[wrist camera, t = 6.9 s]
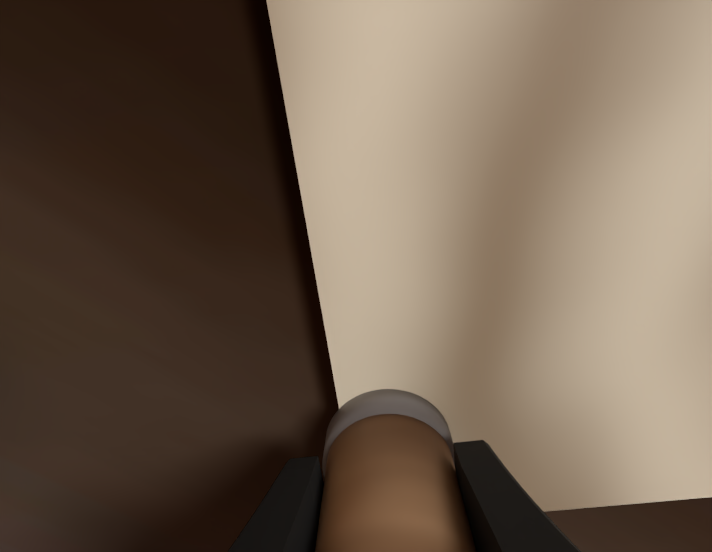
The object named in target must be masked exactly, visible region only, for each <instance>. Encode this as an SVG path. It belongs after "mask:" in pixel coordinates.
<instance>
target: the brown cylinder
mask: <svg viewBox="0 0 712 552" xmlns="http://www.w3.org/2000/svg"><path fill="white" fill-rule="evenodd" d="M322 470H323V476H324V486H323V494H322V502H321V509H320V517H319V524H318V532H317V540H316V547H315V552H476V548H475V544H474V540H473V536H472V532H471V528H470V524H469V521H468V517H467V514H466V510H465V506H464V502H463V499H462V495H461V491H460V487H459V483H458V479H457V475H456V471H455V460H454V449H453V441H452V437H451V433H450V430H449V427H448V424H447V422H446V420H445V418H444V416H443V415H442V414H441V412H440V411H439V410H438V409H437V408H436V407H435V406H434V405H433V404H432V403H430V402H429V401H428V400H426V399H424V398H422V397H421V396H419V395H416V394H414V393H411V392H407V391H403V390H397V389H380V390H374V391H369V392H366V393H363V394H360V395H358V396H356V397H354V398H352V399H351V400H349V401H348V402H346V403H345V404H344V405H343V406H341V408H340V409H339V410H338V411H337V412H336V413H335V415H334V416H333V417H332V419H331V421H330V423H329V426H328V429H327V433H326V439H325V446H324V453H323V460H322Z"/></svg>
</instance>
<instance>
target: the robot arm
mask: <svg viewBox="0 0 712 552" xmlns="http://www.w3.org/2000/svg"><path fill="white" fill-rule="evenodd" d="M453 449H454V460H455V471H456V475H457V479H458V483H459V487H460V491H461V495H462V499H463V502H464V506H465V510H466V514H467V517H468V521H469V524H470V528H471V532H472V536H473V540H474V544H475V548H476V552H581V551H580V550H579V549H578V548H577V547H576V546H575V545H574V544H573V543H572V542H571V541H570V540H569V539H568V538H567V537H566V536H565V534H564V533H563V532H562V531H561V530H560V529H559V528H558V527H557V526H556V525H555V524H554V523H553V522H552V520H551V519H550V518H549V517H548V516H547V515H546V514H545V513H544V512H543V511H542V509H541V508H540V507H539V506H538V505H537V504H536V503H535V502H534V501H533V499H532V498H531V497H530V496H529V495H528V494H527V492H526V491H525V490H524V489H523V488H522V487H521V485H520V484H519V483H518V482H517V481H516V479H515V478H514V477H513V476H512V474H511V473H510V472H509V471H508V469H507V468H506V467H505V466H504V464H503V463H502V462H501V460H500V459H499V458H498V456H497V455H496V454H495V452H494V451H493V450H492V448H491V447H490V445H489V444H488V443H486V442H485V441H484V440H476V441H466V442H456V443H453ZM323 486H324V483H323V478H322V473H321V468H320V463H319V458H318V456H314V457H303V458H293V459H289V460H288V462H287V463H286V464H285V466H284V467H283V469H282V470H281V472H280V473H279V475H278V477H277V478H276V480H275V482H274V483H273V485H272V486H271V488H270V489H269V491H268V493H267V494H266V496H265V497H264V499H263V500H262V502H261V503H260V505H259V507H258V508H257V510H256V511H255V513H254V514H253V516H252V517H251V519H250V520H249V521H248V523H247V524H246V526H245V527H244V529H243V530H242V532H241V533H240V535H239V536H238V537H237V539H236V540H235V542H234V543H233V545H232V546H231V548H230V549H229V550H228V552H315V547H316V540H317V532H318V524H319V517H320V509H321V502H322V494H323Z"/></svg>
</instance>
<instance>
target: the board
mask: <svg viewBox="0 0 712 552" xmlns="http://www.w3.org/2000/svg"><path fill="white" fill-rule="evenodd" d="M266 1H267V7H268V12H269V18H270V23H271V29H272V35H273V40H274V46H275V52H276V57H277V63H278V68H279V74H280V80H281V85H282V91H283V97H284V102H285V108H286V113H287V119H288V125H289V130H290V136H291V142H292V147H293V153H294V158H295V164H296V170H297V175H298V181H299V187H300V192H301V198H302V203H303V209H304V215H305V220H306V226H307V232H308V237H309V243H310V248H311V254H312V260H313V265H314V271H315V277H316V282H317V288H318V293H319V299H320V305H321V310H322V316H323V322H324V327H325V333H326V338H327V344H328V350H329V355H330V361H331V367H332V372H333V378H334V383H335V389H336V395H337V400H338V406H339V409H340V408H341V406H343V405H344V404H345V403H346V402H348V401H349V400H351V399H352V398H354V397H356V396H358V395H360V394H363V393H366V392H369V391H374V390H380V389H397V390H403V391H407V392H411V393H414V394H416V395H419V396H421V397H422V398H424V399H426V400H428V401H429V402H430V403H432V404H433V405H434V406H435V407H436V408H437V409H438V410H439V411H440V412H441V414H442V415H443V416H444V418H445V420H446V422H447V424H448V427H449V430H450V433H451V437H452V441H453V443H456V442H466V441H476V440H484V441H485V442H486V443H488V444H489V445H490V447H491V448H492V450H493V451H494V452H495V454H496V455H497V456H498V458H499V459H500V460H501V462H502V463H503V464H504V466H505V467H506V468H507V469H508V471H509V472H510V473H511V474H512V476H513V477H514V478H515V479H516V481H517V482H518V483H519V484H520V485H521V487H522V488H523V489H524V490H525V491H526V492H527V494H528V495H529V496H530V497H531V498H532V499H533V501H534V502H535V503H536V504H537V505H538V506H539V507H540V508H541V509H542V511H543V512H544V511H556V510H567V509H579V508H590V507H602V506H614V505H625V504H637V503H648V502H660V501H672V500H683V499H695V498H706V497H712V0H266Z"/></svg>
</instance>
